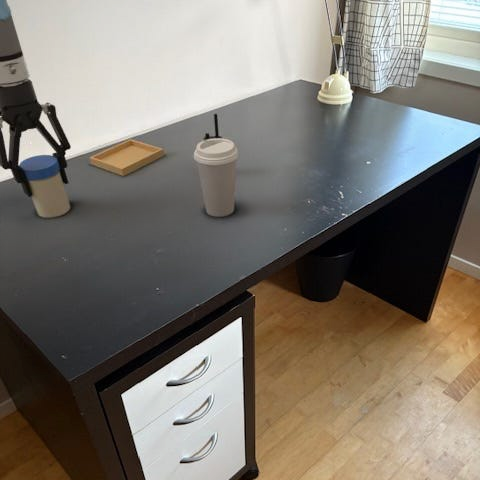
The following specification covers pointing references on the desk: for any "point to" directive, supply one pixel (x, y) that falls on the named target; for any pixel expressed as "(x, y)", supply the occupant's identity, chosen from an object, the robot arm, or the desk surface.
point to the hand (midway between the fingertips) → (46, 188)
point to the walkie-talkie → (215, 130)
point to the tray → (126, 157)
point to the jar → (49, 196)
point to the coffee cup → (217, 174)
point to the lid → (40, 167)
